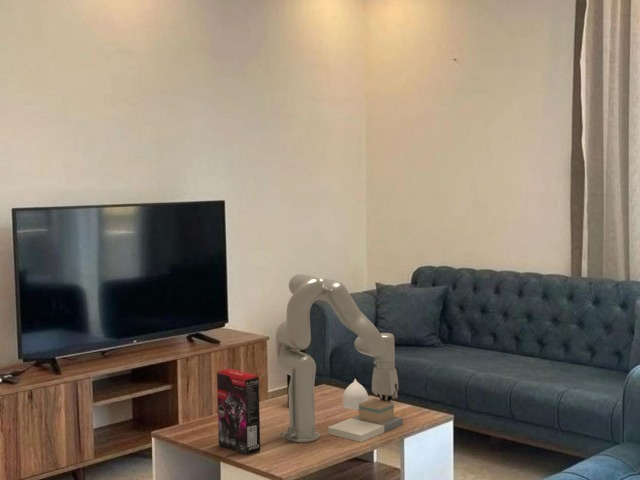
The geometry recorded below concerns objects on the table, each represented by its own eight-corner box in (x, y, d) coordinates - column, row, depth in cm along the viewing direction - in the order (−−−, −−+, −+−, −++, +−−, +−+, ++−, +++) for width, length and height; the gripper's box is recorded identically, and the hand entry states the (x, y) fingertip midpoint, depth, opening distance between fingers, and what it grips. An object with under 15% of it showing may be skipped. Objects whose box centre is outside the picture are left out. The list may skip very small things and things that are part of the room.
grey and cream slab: (361, 442, 288) (360, 435, 288) (327, 433, 298) (327, 427, 298) (402, 424, 307) (402, 418, 307) (369, 417, 318) (369, 411, 318)
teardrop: (339, 408, 331) (338, 380, 330) (346, 401, 341) (346, 374, 340) (365, 410, 327) (364, 382, 326) (371, 403, 338) (371, 375, 337)
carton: (379, 423, 301) (379, 408, 301) (359, 418, 308) (358, 403, 307) (393, 417, 308) (393, 402, 307) (373, 413, 315) (373, 398, 314)
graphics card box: (217, 445, 288) (214, 371, 286) (232, 440, 293) (230, 367, 291) (247, 456, 276) (244, 378, 274) (262, 451, 281) (260, 375, 279)
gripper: (364, 364, 313) (364, 410, 314) (395, 369, 303) (395, 416, 305) (375, 360, 319) (376, 405, 320) (406, 365, 309) (407, 412, 310)
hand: (385, 411), depth 312 cm, fingers closed
